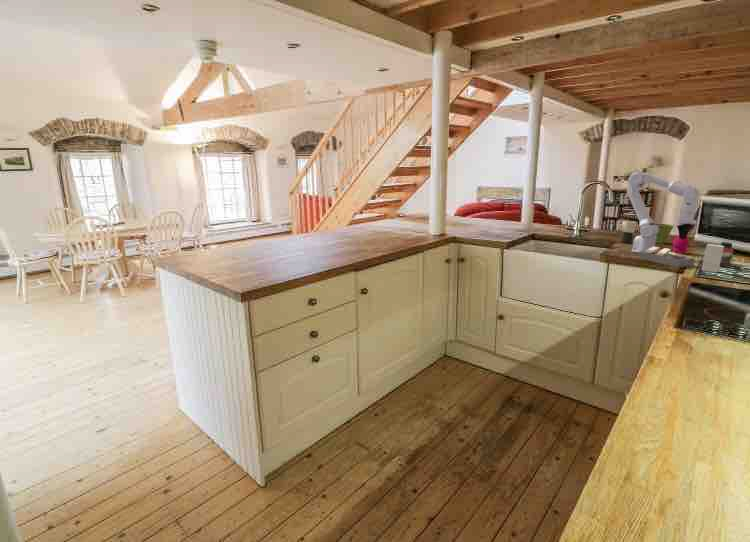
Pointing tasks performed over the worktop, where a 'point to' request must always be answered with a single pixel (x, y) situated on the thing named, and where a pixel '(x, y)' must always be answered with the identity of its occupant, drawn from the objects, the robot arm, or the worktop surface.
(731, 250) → the supplement bottle
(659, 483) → the worktop surface
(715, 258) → the skincare box
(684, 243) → the pepper mill
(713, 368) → the worktop surface
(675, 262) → the power strip
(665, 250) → the middle rocker
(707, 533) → the worktop surface
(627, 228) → the character mug
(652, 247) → the left rocker
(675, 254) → the right rocker
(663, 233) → the plant pot
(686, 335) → the worktop surface
